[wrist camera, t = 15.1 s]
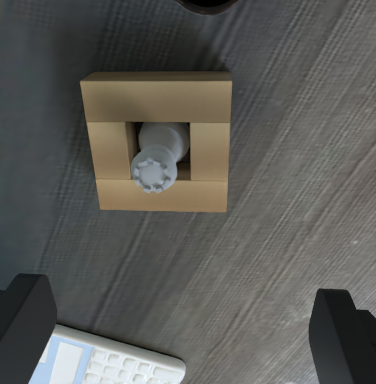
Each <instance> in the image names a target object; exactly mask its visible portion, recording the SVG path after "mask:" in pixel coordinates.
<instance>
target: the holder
mask: <svg viewBox="0 0 376 384" xmlns="http://www.w3.org/2000/svg"><path fill="white" fill-rule="evenodd" d="M80 85H81V92H82V98H83V104H84V110H85V116H86V121H87V128H88V134H89V140H90V146H91V152H92V159H93V165H94V171H95V177H96V185H97V191H98V197H99V203H100V209H103V210H146V211H188V212H226V210H227V187H228V165H229V142H230V120H231V97H232V78H231V72H230V71H156V72H93V73H92V74H90V75H89V76H87V77H86V78H84V79H83V80H81V81H80ZM135 122H190V163H176V167H177V177H176V179H175V182H174V183H173V184H172V185H171V186H170V187H169V188H168V189H165V190H163V191H162V192H160V193H156V191H150V194H149V193H147V192H144V191H143V188H142V187H140V186H138V187H137V185H136V184H135V182H134V179H133V177H132V175H131V164H132V161H133V159H134V158H135V157H136V156H137V155H138V147H137V136H136V125H135Z"/></svg>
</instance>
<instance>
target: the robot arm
mask: <svg viewBox="0 0 376 384" xmlns="http://www.w3.org/2000/svg"><path fill="white" fill-rule="evenodd" d="M56 321H57V308H56V304H55V301H54V297H53V294H52V290H51V287H50V283H49V280H48V277H47V276H46V275H44V274H22V273H20V274H18V275H17V276H16V277H15V278H14V279H13V281H12V282H11V284H10V285H9V286H8V288H7V289H6V291H2V290H0V384H29V381H30V379H31V377H32V375H33V373H34V371H35V369H36V367H37V365H38V363H39V360H40V358H41V356H42V354H43V352H44V350H45V348H46V346H47V344H48V342H49V339H50V337H51V335H52V333H53V331H54V329H55V325H56ZM309 343H310V348H311V352H312V356H313V360H314V364H315V368H316V372H317V376H318V380H319V384H376V318H375V317H374V316H373V315H372V314H371V313H370V312H369V311H368V310H356V307H355V305H354V302H353V300H352V298H351V295H350V293H349V292H348V291H347V290H342V289H320V288H319V289H318V291H317V293H316V298H315V302H314V306H313V310H312V314H311V318H310V323H309Z"/></svg>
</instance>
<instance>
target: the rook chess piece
mask: <svg viewBox="0 0 376 384" xmlns="http://www.w3.org/2000/svg"><path fill="white" fill-rule="evenodd" d="M139 146H140V149H141V152H140V153H139V154H138V155H137V156H136V157H135V158H134V159H133V161H132V164H131V175H132V177H133V179H134V182H135V184H136V185H137V187H138V186H140V187H142V188H143V191H144V192H147V193H149V194H150V191H156V193H160V192H162V191H163V190H165V189H168V188H169V187H170V186H171V185H172V184H173V183H174V182H175V179H176V177H177V167H176V163H177V162H179V161H180V160H181V159H182V158H183V157H184V156H185V155H186V154H187V151H188V149H189V146H190V129H189V127H188V125H187V123H186V122H144V123H143V124H142V127H141V130H140V133H139Z"/></svg>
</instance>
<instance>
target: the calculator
mask: <svg viewBox="0 0 376 384" xmlns="http://www.w3.org/2000/svg"><path fill="white" fill-rule="evenodd" d="M185 371H186V367H185V363H184V362H183V361H182V360H179V359H177V358H174V357H170V356H167V355H163V354H160V353H156V352H153V351H149V350H146V349H142V348H139V347H135V346H132V345H128V344H125V343H121V342H118V341H114V340H111V339H107V338H104V337H100V336H97V335H93V334H90V333H86V332H83V331H79V330H76V329H72V328H68V327H65V326H61V325H58V324H56V325H55V329H54V331H53V333H52V335H51V337H50V339H49V342H48V344H47V346H46V348H45V350H44V352H43V354H42V356H41V358H40V360H39V363H38V365H37V367H36V369H35V371H34V373H33V375H32V377H31V379H30V381H29V384H180V383H181V381H182V379H183V377H184V375H185Z"/></svg>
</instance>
